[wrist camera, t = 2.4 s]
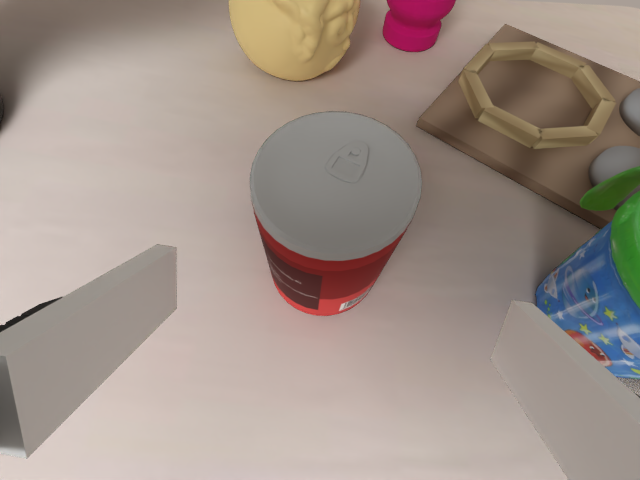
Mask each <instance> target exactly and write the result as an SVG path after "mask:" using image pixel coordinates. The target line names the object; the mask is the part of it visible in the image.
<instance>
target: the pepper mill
mask: <svg viewBox="0 0 640 480" xmlns="http://www.w3.org/2000/svg"><path fill="white" fill-rule="evenodd" d="M455 1H456V0H387V3H388V6H389V8H390V10H389V11H388V12H387V14H386V17H385V22H384V27H383V36H384V38H385V39H386V41H387V42H388V43H389V44H391V45H392V46H394V47H396V48H398V49H401V50H404V51H410V52H419V51H424V50H426V49H429V48H430V47H431V46H433V45H434V44H435V42H436V39H437V37H438V34H439V31H440V28H441V21H440V20H441V19H442V18H443V17H445V16H446V15H447V14H448V13H449V12H450V11H451V9H452V8H453V6H454V4H455Z"/></svg>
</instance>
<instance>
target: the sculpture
mask: <svg viewBox="0 0 640 480" xmlns="http://www.w3.org/2000/svg"><path fill="white" fill-rule="evenodd" d="M359 8H360V0H229V13H230V19H231V24H232V27H233V31H234V33H235V36H236V38H237V40H238V43H239V44H240V46H241V48H242V50H243V51H244V53H245V54H246V55H247V57H248V58H249V59H250V60H251V61H252V62H253V63H254V64H255V65H256V66H257V67H259V68H260V69H261V70H263V71H265V72H266V73H268V74H270V75H273V76H275V77H278V78H282V79H286V80H292V81H302V80H308V79H311V78H314V77H316V76H318V75H320V74H322V73H323V72H326V71H329V70H331V69H332V68H333V67H334V66H335V65H336V64H337V63H338V62H339V61H340V60H341V58H342V57H343V56H344V55H345V53H346V50H347V49H348V48H349V46H350V38H349V36H350V34H351V33H352V31H353V28H354V26H355V24H356V21H357V17H358V13H359Z"/></svg>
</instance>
